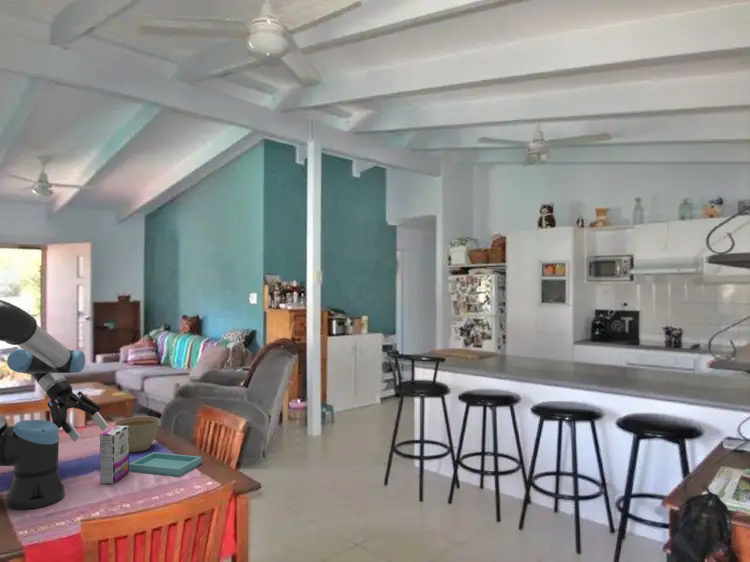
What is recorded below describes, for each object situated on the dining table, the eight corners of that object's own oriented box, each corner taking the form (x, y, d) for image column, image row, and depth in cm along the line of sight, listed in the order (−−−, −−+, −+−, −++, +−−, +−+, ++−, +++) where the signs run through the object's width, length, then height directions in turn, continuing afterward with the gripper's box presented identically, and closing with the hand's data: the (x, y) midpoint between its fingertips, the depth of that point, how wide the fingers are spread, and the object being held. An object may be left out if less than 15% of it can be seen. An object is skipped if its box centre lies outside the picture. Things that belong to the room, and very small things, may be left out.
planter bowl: (145, 440, 234) (145, 414, 234) (166, 448, 224) (166, 420, 224) (106, 449, 221) (106, 421, 221) (127, 458, 211) (127, 429, 211)
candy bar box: (115, 472, 196) (115, 425, 196) (129, 472, 196) (129, 425, 195) (98, 484, 184) (99, 434, 184) (114, 484, 184) (114, 434, 184)
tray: (179, 476, 192) (179, 469, 192) (128, 471, 197) (128, 464, 197) (201, 463, 205) (201, 456, 205) (153, 458, 210) (153, 452, 210)
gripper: (75, 386, 210) (109, 430, 207) (19, 400, 186) (56, 451, 183) (88, 373, 209) (122, 417, 206) (33, 386, 185) (71, 436, 181)
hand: (91, 433), depth 194 cm, fingers open, 13 cm apart
